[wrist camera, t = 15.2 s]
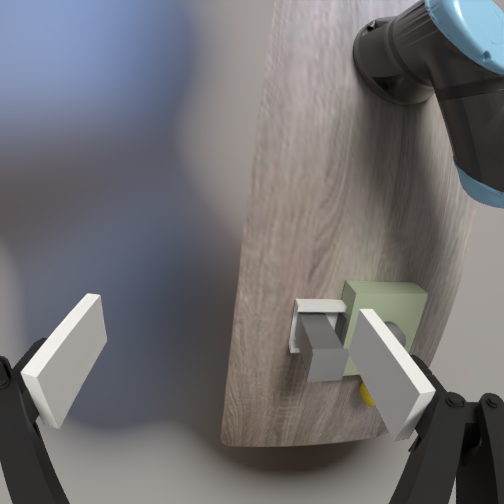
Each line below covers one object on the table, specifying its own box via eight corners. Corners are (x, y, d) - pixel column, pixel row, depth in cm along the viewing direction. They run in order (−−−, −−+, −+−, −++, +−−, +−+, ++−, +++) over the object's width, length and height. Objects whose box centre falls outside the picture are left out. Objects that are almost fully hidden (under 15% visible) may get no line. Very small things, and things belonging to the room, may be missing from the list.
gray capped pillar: (292, 336, 51) (306, 382, 40) (296, 310, 50) (313, 353, 39) (321, 336, 52) (341, 380, 40) (326, 311, 50) (349, 352, 39)
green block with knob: (285, 360, 53) (292, 389, 46) (298, 278, 49) (310, 301, 41) (391, 355, 55) (408, 379, 48) (414, 282, 50) (437, 301, 43)
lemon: (378, 384, 57) (392, 408, 50) (354, 391, 57) (366, 417, 50) (380, 365, 56) (396, 389, 48) (355, 372, 56) (368, 398, 48)
